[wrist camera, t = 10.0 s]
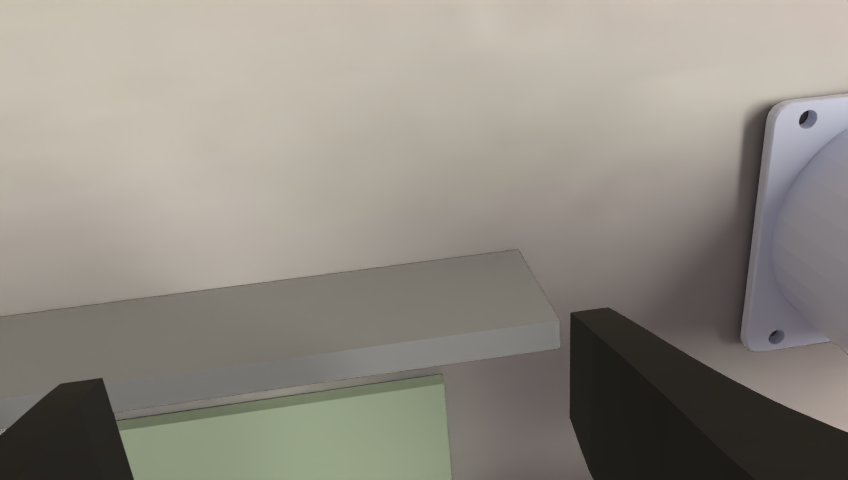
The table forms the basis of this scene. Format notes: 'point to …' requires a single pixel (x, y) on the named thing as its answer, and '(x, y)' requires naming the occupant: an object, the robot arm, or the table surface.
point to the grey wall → (279, 333)
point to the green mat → (301, 437)
